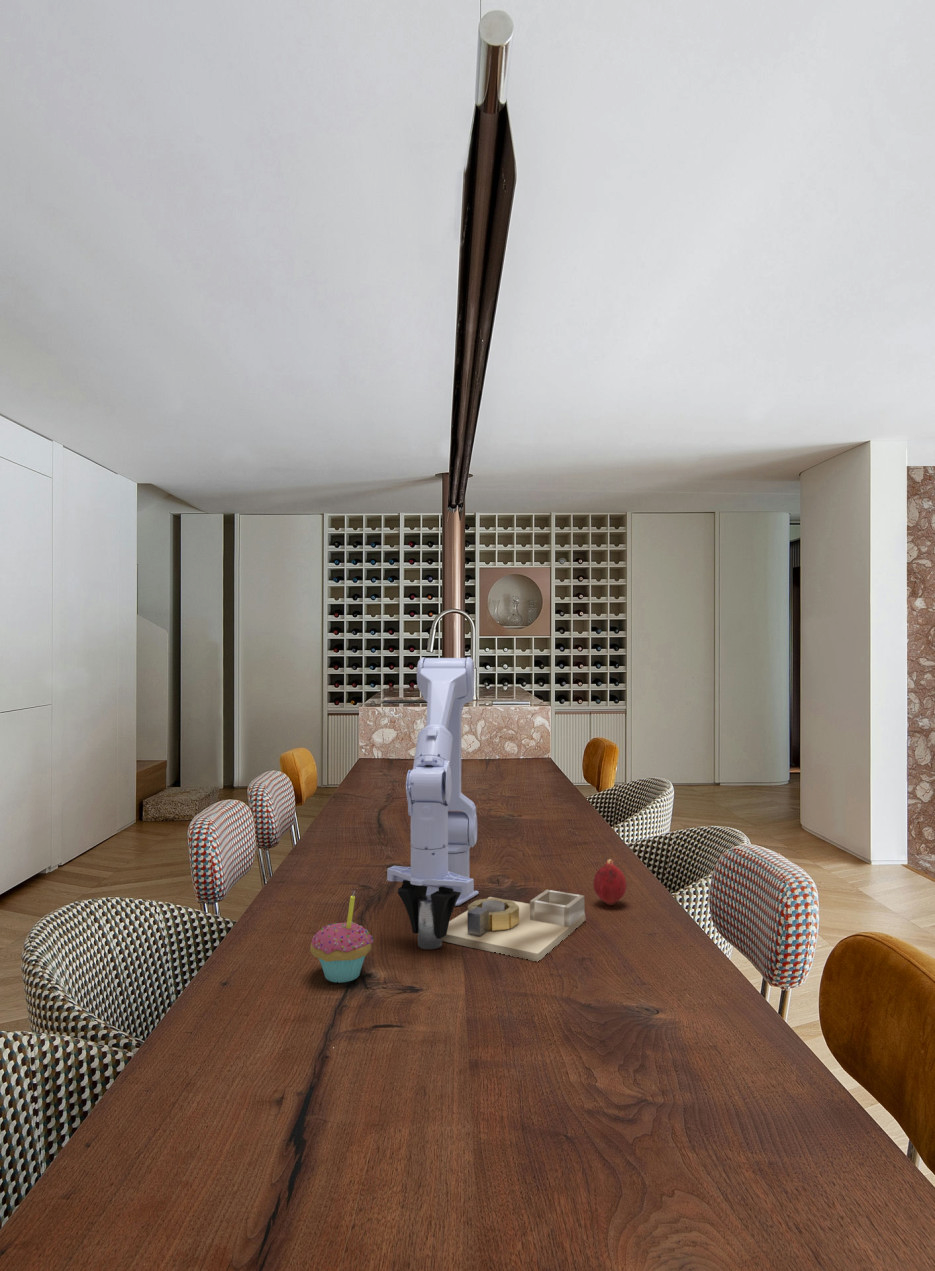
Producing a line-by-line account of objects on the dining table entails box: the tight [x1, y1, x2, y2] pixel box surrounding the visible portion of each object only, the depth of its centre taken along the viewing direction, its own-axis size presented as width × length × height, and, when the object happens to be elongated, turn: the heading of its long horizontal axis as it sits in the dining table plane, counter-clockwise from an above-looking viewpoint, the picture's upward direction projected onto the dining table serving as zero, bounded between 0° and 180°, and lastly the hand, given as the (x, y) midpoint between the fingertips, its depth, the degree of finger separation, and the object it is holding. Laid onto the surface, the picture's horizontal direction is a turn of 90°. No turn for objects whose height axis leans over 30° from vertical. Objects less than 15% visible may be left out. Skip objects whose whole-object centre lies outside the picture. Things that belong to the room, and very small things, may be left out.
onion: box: [592, 858, 627, 906], centre depth 135 cm, size 6×6×8 cm
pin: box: [417, 895, 443, 950], centre depth 117 cm, size 4×4×7 cm
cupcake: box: [309, 890, 374, 984], centre depth 107 cm, size 9×8×12 cm
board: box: [442, 889, 586, 963], centre depth 124 cm, size 18×19×4 cm
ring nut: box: [467, 897, 519, 936], centre depth 123 cm, size 8×10×3 cm
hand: (429, 933), depth 117 cm, fingers closed on pin, 4 cm apart
